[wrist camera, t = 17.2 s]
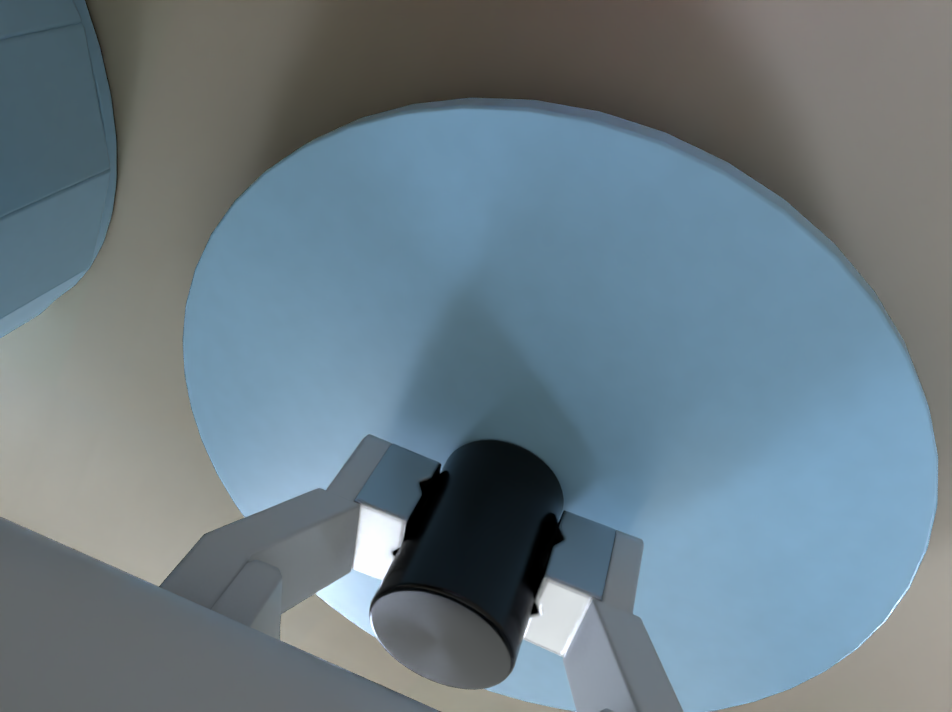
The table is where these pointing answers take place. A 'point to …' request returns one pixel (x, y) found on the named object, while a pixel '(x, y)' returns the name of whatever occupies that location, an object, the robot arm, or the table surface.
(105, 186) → the pan
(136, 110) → the table surface
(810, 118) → the table surface
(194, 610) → the robot arm
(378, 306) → the pan lid
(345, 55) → the table surface
